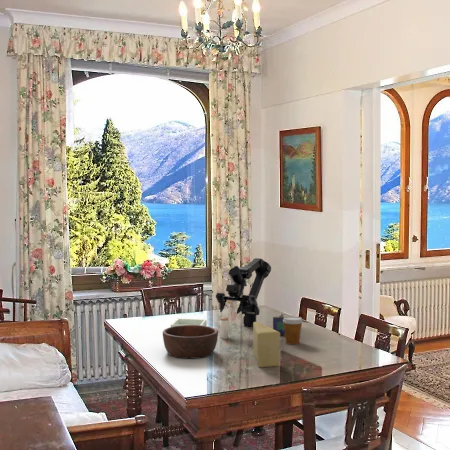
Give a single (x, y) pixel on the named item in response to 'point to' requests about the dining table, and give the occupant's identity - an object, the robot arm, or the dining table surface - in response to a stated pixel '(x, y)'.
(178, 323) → the bin
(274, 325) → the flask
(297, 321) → the disposable coffee cup
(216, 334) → the wooden bowl
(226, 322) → the jar
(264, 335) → the cheese
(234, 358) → the dining table surface
